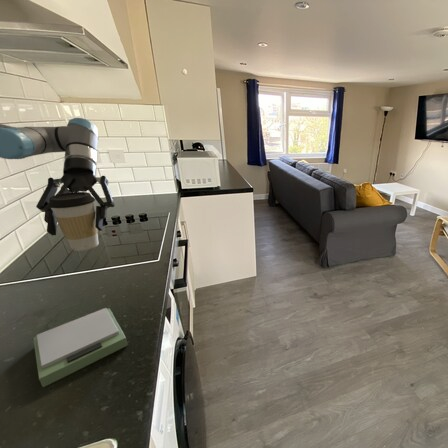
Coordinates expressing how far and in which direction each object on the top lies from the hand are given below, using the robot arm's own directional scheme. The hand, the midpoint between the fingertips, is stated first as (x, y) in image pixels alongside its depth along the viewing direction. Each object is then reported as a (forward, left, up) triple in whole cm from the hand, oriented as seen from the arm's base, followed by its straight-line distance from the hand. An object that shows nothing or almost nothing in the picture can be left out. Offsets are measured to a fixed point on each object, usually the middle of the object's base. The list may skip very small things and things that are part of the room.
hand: (75, 231), depth 71 cm
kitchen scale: (+13, -16, -22) cm, 30 cm away
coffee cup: (-2, +3, -6) cm, 7 cm away
